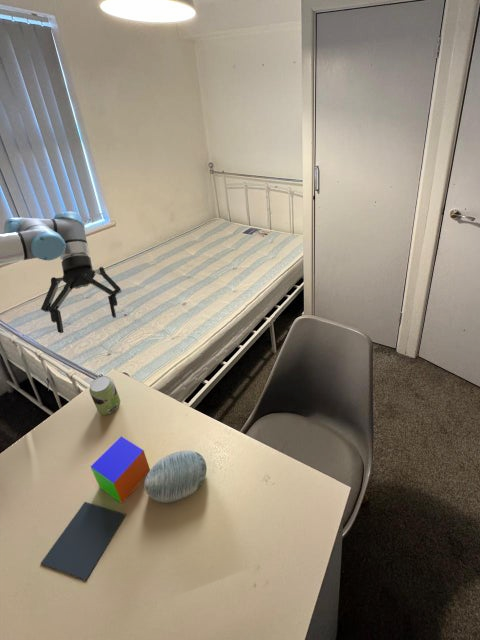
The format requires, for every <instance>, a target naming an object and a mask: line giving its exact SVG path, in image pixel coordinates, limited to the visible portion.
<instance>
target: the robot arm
mask: <svg viewBox="0 0 480 640" xmlns="http://www.w3.org/2000/svg"><path fill="white" fill-rule="evenodd" d="M3 226H4V227H3V233H0V266H1V265H6V264H10V263H17V262H21V261H27V260H33V259H38V260H42V261H55V260H56V259H58V258H60V260H61V269H62V273H63V275H62V276H61V277H55V276H53V277H51V278H50V286H49V288H48V291H47V292H46V295H45V297H44V300H43V302H42V305H41V308H40V310H41V311H43V312H45V313H47V312H48V313H49V314H50V320H51V322H52V323H54V324H55V323H56V329H57V330H56V331H57V333H59V334H62V333H65V332H64V326H63V325H64V324H63V321H62V314H61V310H60V309H59V308H60V307H61V305H62V304H63V302H64V301H65V299H66V298H67V297H68V295H69V294H70V293H71V292H72V291H73V289H76V290H77V289H81V288H85V287H88V286H90V285H92V286H93V287H95V288H97V289H99V290H100V291H102V292H104V293H106V294H107V295H108V296H107V298H108V303H109V308H110V312H111V316H112V318H113V319H114V318H117V314H116V309H115V307H117V306H119V305H118V299H117V298H118V297H117V295H119V294H121V293H122V289H121V287H120V286H119V285H118V284H117V283H116V282H115V281H114V280H113V279H112V278H111V277H110V276H109V275H108V274H107V272H106V270H105V268H104V267H103V266H100V267H99V268H98V269H93V265H92V259H91V257H90V255H91V254H90V249H89V245H88V240H87V235H86V230H85V225H84V221H83V218H82V216H81V215H80V214H79V213H78V212H75V211H66V212H64V211H62V212H59V213H56V214H55V215H54V216H53V218H36V217H35V218H33V217H31V218H30V217H8V218H7V219H6V220H5V221H4V224H3ZM96 275H98V276H100V277H102V278H103V279H104V280H105V281H106V283H108V284H109V285H110V286H111V287H112V289H111V288H109V287H107V286H106V285H104V284H103V283H101V282H99V281H98V280H96V279H94V278H95V277H96ZM62 283H65V284H64V286H63V288H62V290H61V292H59V294H58V295H57V297H55V296H56V294H57V292H58V289H59V286H60V285H62ZM113 289H114V290H113ZM54 299H55V300H54Z"/></svg>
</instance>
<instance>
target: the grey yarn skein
mask: <svg viewBox="0 0 480 640" xmlns="http://www.w3.org/2000/svg"><path fill="white" fill-rule="evenodd" d="M207 470H208V469H207V463H206V460H205V458H204V457H203V455H202V454H200V453H199V452H198V451H195V450H183V451H181V450H180V451H176V452H173V453H170V454H168V455H166V456H164V457H162V458H161V459H159V460H158V461H157V462H156V463H155V464H153V466H152V467H151V468H150V471H149V472H148V473H147V475H146V476H145V479H144V490H145V492H146V494H147V495H148V496H149V497H150V499H152V500H154V501H156V502H158V503H162V504H163V503H165V504H166V503H174V502H177V501H181V500H183V499H185V498H186V497H187V498H188V496H190V495H192V494H194V493H195V492H196V491H197V490H198V489H199V488H200V487H201V486H202V484H203V483H204V481H205V480H206V479H205V478H206V476H207Z"/></svg>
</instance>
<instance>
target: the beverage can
mask: <svg viewBox="0 0 480 640" xmlns="http://www.w3.org/2000/svg"><path fill="white" fill-rule="evenodd" d="M88 393H89V394H90V397H91V399H92V401H93V403H94V405H95V408H96V411H97V412H98V414H99V415H102V416H107V415H110V414H112V413H114V412H115V411H116V410H118V408H119V407H120V405H121V398H120V395H119V393H118V390H117V387H116V385H115V382H114V379H113V378H111V377H110V376H107V375H101V376H98V377H96V378H95V379H94V380H93V381H92V382H91V383H90V386H89V391H88Z"/></svg>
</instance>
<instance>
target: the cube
mask: <svg viewBox="0 0 480 640" xmlns="http://www.w3.org/2000/svg"><path fill="white" fill-rule="evenodd" d="M90 469H91V471H92V473H93V476H94V478H95V480H96V482H97V484H98V487H99V488H100V489H102V490H103V491H105V492H106V493H107V494H108V495H110V496H111V497H112V498H114V499H115V500H116V501H118V502H119V503H121V504H123V503H124V502H125V501H126V499H128V497H129V496H130V495H131V493H132V492H133V491H134V490H135V489H136V488H137V487H138V486H139V484H140V483H141V482H142V481H143V480H144V478H146V477H147V475H148V473H149V471H150V470H151V468H150V465H149V462H148V459H147V456H146V453H145V450H144V449H142V448H141V447H139V446H137V445H136V444H135V443H133V442H131V441H130V440H128V439H127V438H125V437H123V436H119V438H117V440H115V442H114V443H112V445H111V446H110V447H108V449H107V450H105V452H104V453H103V454H101V455H100V456H99V458H98V459H97V460H95V461H94V463H92V464H91V465H90Z"/></svg>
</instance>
